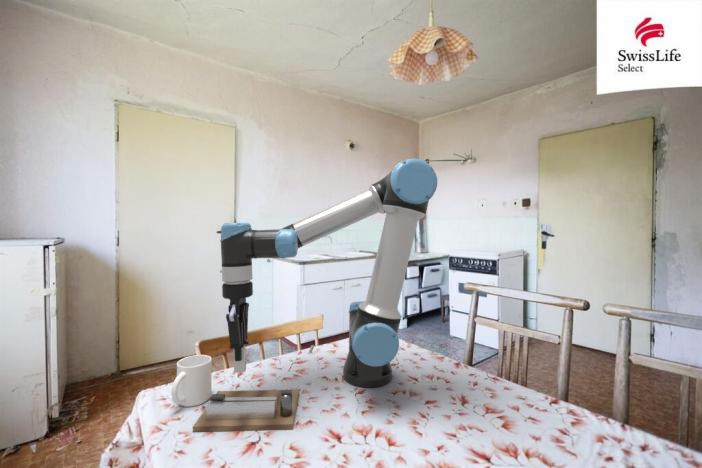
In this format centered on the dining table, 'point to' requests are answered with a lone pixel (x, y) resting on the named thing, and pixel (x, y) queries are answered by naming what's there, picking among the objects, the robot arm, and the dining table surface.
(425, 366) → the dining table surface
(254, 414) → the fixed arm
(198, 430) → the board
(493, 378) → the dining table surface
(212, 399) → the light grey long bar
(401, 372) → the dining table surface
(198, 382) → the mug
